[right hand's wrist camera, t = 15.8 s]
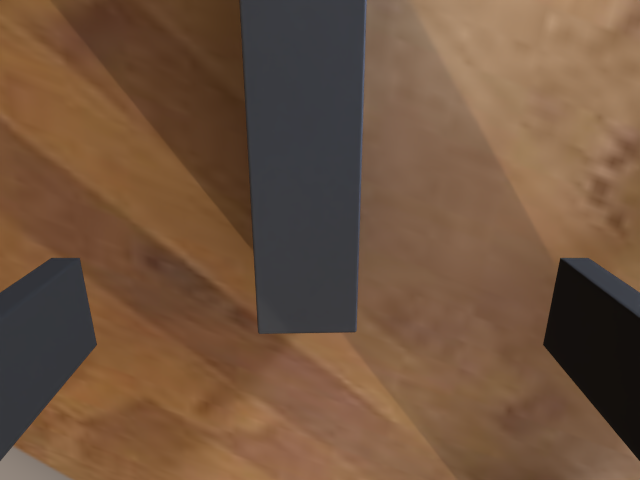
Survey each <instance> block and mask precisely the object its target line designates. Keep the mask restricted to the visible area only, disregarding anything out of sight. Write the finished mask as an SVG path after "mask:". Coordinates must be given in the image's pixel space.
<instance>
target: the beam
mask: <svg viewBox="0 0 640 480" xmlns="http://www.w3.org/2000/svg"><path fill="white" fill-rule="evenodd" d="M239 1H240V18H241V36H242V54H243V72H244V90H245V107H246V125H247V143H248V161H249V179H250V196H251V214H252V232H253V250H254V268H255V286H256V303H257V321H258V333H259V334H273V333H336V332H356V330H357V297H358V264H359V231H360V198H361V166H362V133H363V100H364V67H365V34H366V1H367V0H239Z"/></svg>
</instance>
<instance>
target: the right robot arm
mask: <svg viewBox="0 0 640 480" xmlns="http://www.w3.org/2000/svg"><path fill="white" fill-rule="evenodd" d="M96 345H97V343H96V338H95V333H94V328H93V323H92V318H91V313H90V308H89V303H88V298H87V293H86V288H85V283H84V278H83V273H82V267H81V262H80V258H51V259H49V260H48V261H46V262H45V263H43V264H42V265H41V266H39V267H38V268H36V269H35V270H33V271H32V272H30V273H29V274H27V275H26V276H24V277H23V278H21V279H20V280H18V281H17V282H15V283H14V284H12V285H11V286H9V287H8V288H7V289H5V290H4V291H2V292H1V293H0V461H1V459H2V458H3V457H4V456H5V455H6V453H7V452H8V451H9V450H10V449H11V447H12V446H13V445H14V444H15V443H16V441H17V440H18V439H19V438H20V437H21V435H22V434H23V433H24V432H25V431H26V429H27V428H28V427H29V426H30V425H31V423H32V422H33V421H34V420H35V419H36V417H37V416H38V415H39V414H40V413H41V411H42V410H43V409H44V408H45V407H46V405H47V404H48V403H49V402H50V401H51V399H52V398H53V397H54V396H55V395H56V393H57V392H58V391H59V390H60V389H61V387H62V386H63V385H64V384H65V383H66V381H67V380H68V379H69V378H70V376H71V375H72V374H73V373H74V372H75V370H76V369H77V368H78V367H79V366H80V364H81V363H82V362H83V361H84V360H85V358H86V357H87V356H88V355H89V354H90V352H91V351H92V350H93V349H94V348H95V346H96ZM543 345H544V346H545V348H546V349H547V350H548V351H549V352H550V354H551V355H552V356H553V357H554V358H555V360H556V361H557V362H558V363H559V364H560V366H561V367H562V368H563V369H564V370H565V372H566V373H567V374H568V375H569V376H570V378H571V379H572V380H573V381H574V383H575V384H576V385H577V386H578V387H579V389H580V390H581V391H582V392H583V393H584V395H585V396H586V397H587V398H588V399H589V401H590V402H591V403H592V404H593V405H594V407H595V408H596V409H597V410H598V411H599V413H600V414H601V415H602V416H603V417H604V419H605V420H606V421H607V422H608V423H609V425H610V426H611V427H612V428H613V429H614V431H615V432H616V433H617V434H618V435H619V437H620V438H621V439H622V440H623V441H624V443H625V444H626V445H627V446H628V447H629V449H630V450H631V451H632V452H633V453H634V455H635V456H636V457H637V458H638V459H639V461H640V293H639V292H638V291H636V290H635V289H633V288H632V287H631V286H629V285H628V284H626V283H625V282H623V281H622V280H620V279H619V278H617V277H616V276H614V275H613V274H611V273H610V272H608V271H607V270H605V269H604V268H602V267H601V266H599V265H598V264H597V263H595V262H594V261H592V260H591V259H589V258H560V262H559V267H558V273H557V278H556V283H555V288H554V293H553V298H552V303H551V308H550V313H549V318H548V323H547V328H546V333H545V338H544V343H543Z"/></svg>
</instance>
